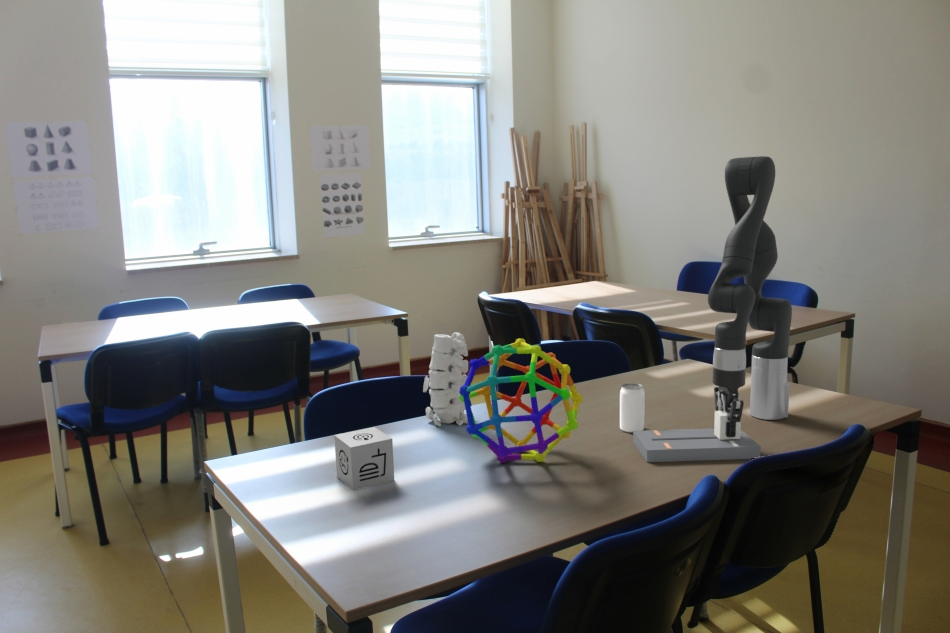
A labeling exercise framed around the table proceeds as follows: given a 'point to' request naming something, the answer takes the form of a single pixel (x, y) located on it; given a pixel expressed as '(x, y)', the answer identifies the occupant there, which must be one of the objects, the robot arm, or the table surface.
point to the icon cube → (364, 458)
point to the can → (632, 407)
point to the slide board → (692, 445)
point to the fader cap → (724, 426)
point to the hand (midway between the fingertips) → (727, 433)
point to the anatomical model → (447, 379)
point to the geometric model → (536, 416)
